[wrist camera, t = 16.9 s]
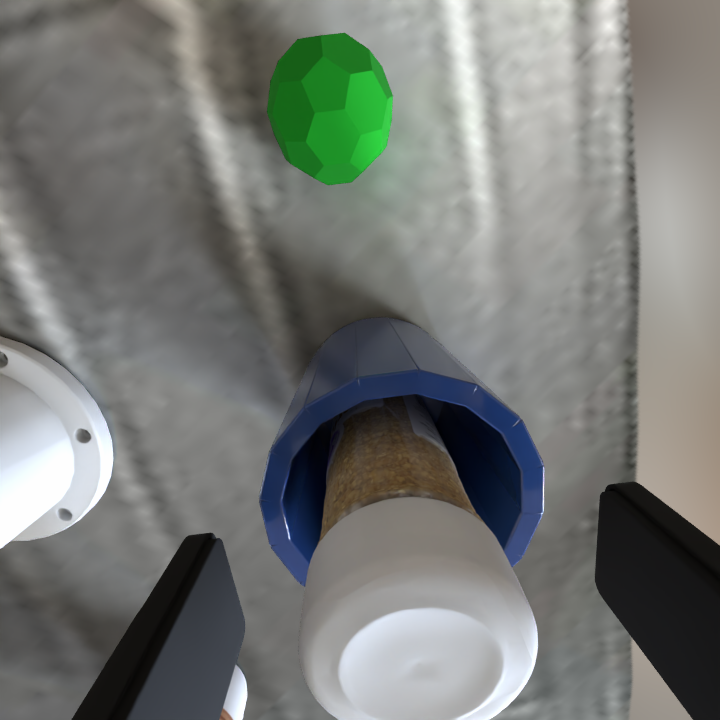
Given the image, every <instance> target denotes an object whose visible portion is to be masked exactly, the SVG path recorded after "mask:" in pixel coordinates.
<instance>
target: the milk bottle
mask: <svg viewBox="0 0 720 720" xmlns="http://www.w3.org/2000/svg"><path fill="white" fill-rule="evenodd" d="M246 699H247V685H246V681H245V677H244V675H243V673H242V671H241V670H240V668H239V667H238V666H237V665H235V669H234V672H233V675H232V679H231V682H230V686H229V689H228V692H227V696H226V699H225V702H224V706H223V709H222V713H221V716H220V719H219V720H242V718H243V713H244V709H245V704H246Z"/></svg>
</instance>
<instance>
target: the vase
mask: <svg viewBox="0 0 720 720" xmlns="http://www.w3.org/2000/svg"><path fill="white" fill-rule="evenodd" d="M411 394H418V395H419V396H420V397H421V399H422V401H423V402H424V404H425V406H426V408H427V410H428V412H429V414H430V416H431V418H432V420H433V422H434V424H435V426H436V428H437V430H438V432H439V434H440V436H441V438H442V440H443V442H444V444H445V446H446V448H447V450H448V452H449V454H450V456H451V458H452V460H453V462H454V464H455V467H456V470H457V473H458V477H459V479H460V481H461V483H462V485H463V488H464V490H465V493H466V494H467V496H468V499H469V500H470V503H471V505H472V506H473V508H474V510H475V512H476V514H478V515H479V516H480V518H481V519H482V520H483V521H484V523H485V524H486V526H487V527H488V528H489V529H490V530H491V531H492V533H493V534H494V535H495V537H496V538H497V540H498V542H499V544H500V546H501V547H502V549H503V551H504V553H505V555H506V557H507V559H508V561H509V563H510V565H511V567H513V566H514V565H515V564H516V563H517V562H518V561H520V560H521V559H522V556H523V555H524V553H525V551H526V549H527V547H528V545H529V543H530V541H531V539H532V537H533V534H534V532H535V530H536V528H537V526H538V524H539V522H540V520H541V518H542V515H543V514H542V513H544V465H543V461H542V459H541V457H540V455H539V453H538V451H537V449H536V447H535V444H534V442H533V440H532V438H531V436H530V434H529V432H528V430H527V428H526V426H525V424H524V422H523V420H522V419H521V418H520V417H519V416H518V415H517V414H516V413H515V412H514V411H513V410H512V409H511V408H510V407H509V406H508V405H506V404H505V403H504V402H503V401H502V400H501V399H500V398H499V397H498V396H497V395H496V394H495V393H493V392H492V391H491V390H490V389H489V388H488V387H487V386H486V385H485V384H484V383H483V382H482V381H480V380H479V379H478V378H477V377H476V376H475V375H474V374H473V373H472V372H471V371H470V370H469V369H467V368H466V367H465V366H464V365H463V364H462V363H461V362H460V361H459V360H458V359H457V358H456V357H454V356H453V355H452V354H451V353H450V352H449V351H448V350H447V349H446V348H445V347H444V346H443V345H441V344H440V343H439V342H438V341H436V340H435V339H434V338H433V337H431V336H430V335H429V334H428V333H427V332H425V331H424V330H422V329H421V328H420V327H418V326H416V325H413V324H411V323H409V322H406V321H403V320H399V319H394V318H386V317H376V318H368V319H363V320H359V321H356V322H353V323H350V324H348V325H346V326H344V327H342V328H341V329H339V330H338V331H336V332H335V333H333V334H332V335H331V336H330V337H329V338H328V339H326V341H325V342H324V343H323V344H322V345H321V346H320V348H319V349H318V351H317V352H316V354H315V355H314V357H313V358H312V360H311V361H310V363H309V365H308V367H307V369H306V372H305V374H304V376H303V378H302V380H301V383H300V385H299V387H298V389H297V391H296V394H295V396H294V398H293V400H292V402H291V405H290V407H289V409H288V411H287V413H286V416H285V418H284V420H283V422H282V424H281V427H280V429H279V431H278V433H277V436H276V438H275V440H274V442H273V444H272V447H271V449H270V451H269V454H268V458H267V463H266V467H265V472H264V476H263V481H262V485H261V490H260V494H259V503H260V507H261V511H262V516H263V520H264V524H265V528H266V532H267V536H268V540H269V544H270V545H271V549H272V550H273V551H274V552H275V554H276V555H277V556H278V557H279V559H280V560H281V561H282V562H283V564H284V565H285V566H286V567H287V569H288V570H289V571H290V573H291V574H292V575H293V576H294V578H295V579H296V580H297V581H298V582H300V584H301V585H302V586H304V587H305V585H306V579H307V573H308V568H309V564H310V561H311V558H312V555H313V553H314V551H315V549H316V547H317V545H318V542H319V541H320V536H321V530H322V519H323V512H324V500H325V495H326V487H327V485H326V473H327V465H328V456H329V447H330V440H331V430H332V421H333V417H335V416H337V415H339V414H341V413H342V412H344V411H346V410H348V409H350V408H352V407H353V406H355V405H357V404H359V403H361V402H363V401H365V400H372V399H380V398H388V397H395V396H403V395H411Z"/></svg>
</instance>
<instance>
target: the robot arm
mask: <svg viewBox="0 0 720 720" xmlns="http://www.w3.org/2000/svg"><path fill="white" fill-rule="evenodd" d="M112 466H113V448H112V439H111V436H110V433H109V429H108V426H107V423H106V420H105V419H104V417H103V415H102V413H101V411H100V409H99V407H98V405H97V403H96V402H95V400H94V399H93V398H92V397H91V395H90V394H89V393H88V391H87V390H86V389H85V387H84V386H83V385H82V384H81V383H80V382H79V381H78V380H77V379H76V378H75V377H74V376H73V375H72V374H71V373H70V372H69V371H68V370H67V369H65V368H64V367H63V366H61V365H60V364H58V363H57V362H55V361H54V360H53V359H51V358H50V357H48V356H47V355H45V354H43V353H41V352H39V351H37V350H35V349H33V348H31V347H29V346H27V345H25V344H23V343H20V342H17V341H13V340H10V339H7V338H4V337H1V336H0V549H1V548H2V547H4V546H5V545H6V544H7V543H8V542H10V541H26V540H34V539H39V538H44V537H48V536H51V535H53V534H56V533H58V532H61V531H63V530H65V529H67V528H68V527H70V526H71V525H73V524H74V523H76V522H77V521H79V520H80V519H81V518H82V517H83V516H84V515H85V514H86V513H87V512H88V511H89V510H90V509H92V508H93V507H94V506H95V505H96V503H97V502H98V501H99V499H100V498H101V496H102V495H103V494H104V492H105V490H106V488H107V485H108V483H109V480H110V478H111V473H112ZM595 583H596V586H597V589H598V591H599V593H600V595H601V596H602V598H603V599H604V601H605V602H606V603H607V605H608V606H609V607H610V609H611V610H612V611H613V613H614V614H615V615H616V617H617V618H618V619H619V621H620V622H621V623H622V625H623V626H624V627H625V629H626V630H627V631H628V633H629V634H630V635H631V637H632V638H633V640H634V641H635V642H636V643H637V645H638V646H639V648H640V649H641V650H642V652H643V653H644V654H645V656H646V657H647V658H648V660H649V661H650V662H651V663H652V665H653V666H654V668H655V669H656V670H657V672H658V673H659V674H660V676H661V677H662V678H663V680H664V681H665V683H666V684H667V685H668V687H669V688H670V689H671V691H672V692H673V693H674V695H675V696H676V697H677V699H678V700H679V701H680V703H681V704H682V705H683V707H684V708H685V709H686V711H687V712H688V713H689V715H690V716H691V717H692V719H693V720H720V545H718V544H717V543H716V542H714V541H713V540H712V539H711V538H709V537H708V536H706V535H705V534H704V533H703V532H701V531H700V530H699V529H698V528H696V527H695V526H694V525H692V524H691V523H690V522H688V521H687V520H686V519H685V518H683V517H682V516H681V515H679V514H678V513H677V512H675V511H674V510H673V509H672V508H670V507H669V506H668V505H666V504H665V503H664V502H662V501H661V500H660V499H659V498H657V497H656V496H654V495H653V494H652V493H650V492H649V491H648V490H647V489H645V488H644V487H643V486H642V485H640V484H638V483H637V482H626V483H618V484H610V485H608V486H607V487H606V489H605V492H602V493H601V495H600V504H599V520H598V536H597V552H596V568H595ZM244 633H245V619H244V615H243V612H242V608H241V605H240V601H239V598H238V594H237V591H236V587H235V584H234V580H233V577H232V573H231V570H230V566H229V563H228V559H227V556H226V552H225V549H224V545H223V542H222V540H221V539H220V538H217V539H216V537H215V535H214V534H213V533H205V534H197V535H189V536H187V537H186V538H185V539H184V541H183V542H182V544H181V545H180V547H179V549H178V550H177V552H176V554H175V555H174V557H173V558H172V560H171V562H170V563H169V565H168V566H167V568H166V570H165V571H164V573H163V575H162V576H161V578H160V579H159V581H158V583H157V584H156V586H155V588H154V589H153V591H152V592H151V594H150V596H149V597H148V599H147V600H146V602H145V604H144V605H143V607H142V608H141V609H140V611H139V612H138V613H137V615H136V617H135V618H134V620H133V621H132V623H131V625H130V626H129V628H128V629H127V631H126V633H125V634H124V636H123V638H122V639H121V641H120V642H119V644H118V646H117V647H116V649H115V650H114V652H113V654H112V655H111V657H110V658H109V660H108V662H107V663H106V665H105V667H104V668H103V670H102V671H101V673H100V675H99V676H98V678H97V679H96V681H95V683H94V684H93V686H92V687H91V689H90V691H89V692H88V694H87V696H86V697H85V699H84V700H83V702H82V704H81V705H80V707H79V708H78V710H77V712H76V713H75V715H74V716H73V718H72V720H219V719H220V716H221V713H222V709H223V706H224V702H225V699H226V696H227V692H228V689H229V686H230V682H231V679H232V675H233V672H234V669H235V665H236V662H237V659H238V655H239V652H240V648H241V645H242V642H243V638H244Z"/></svg>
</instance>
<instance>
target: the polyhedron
mask: <svg viewBox="0 0 720 720" xmlns="http://www.w3.org/2000/svg"><path fill="white" fill-rule="evenodd" d="M392 101H393V95H392V92H391V90H390V87H389V84H388V81H387V79H386V76H385V73H384V71H383V68H382V66H381V65H380V63H379V62H378V61H377V59H376V58H375V57H374V56H373V54H372V53H371V52H370V50H369V49H368V48H366V47H365V46H363V45H362V44H360V43H359V42H357V41H356V40H354V39H353V38H351V37H350V36H349V35H347V34H346V33H339V34H330V35H321V36H315V37H308V38H302V39H297V40H296V42H295V43H294V44H293V45H292V46H291V47H290V48H289V50H288V51H287V52H286V53H285V54H284V55H283V56H282V58H281V59H280V60H279V61H278V63H277V66H276V68H275V71H274V74H273V76H272V79H271V81H270V90H269V99H268V107H267V113H268V117H269V120H270V123H271V126H272V129H273V132H274V135H275V137H276V139H277V142H278V144H279V146H280V148H281V150H282V152H283V155H284V157H285V159H286V160H287V161H288V162H289V163H290V164H292V165H293V166H295V167H297V168H298V169H300V170H302V171H303V172H305V173H307V174H308V175H310V176H312V177H313V178H315V179H317V180H319V181H321V182H323V183H325V184H327V185H333V184H341V183H349V182H352V181H353V180H354V179H355V178H357V177H358V176H359V175H360V174H361V173H362V172H363V171H364V170H365V169H366V168H367V167H368V166H369V165H370V164H371V163H372V162H373V161H374V160H375V159H376V158H377V157H378V156H379V155H380V154H381V153H382V152H383V150H384V149H385V148H386V146H387V141H388V136H389V131H390V125H391V120H392Z"/></svg>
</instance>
